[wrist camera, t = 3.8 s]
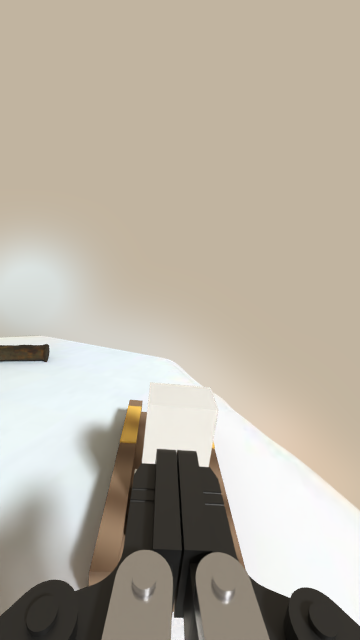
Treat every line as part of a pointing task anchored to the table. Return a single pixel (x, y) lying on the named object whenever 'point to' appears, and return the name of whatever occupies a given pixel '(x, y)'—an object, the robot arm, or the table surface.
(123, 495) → the switch housing
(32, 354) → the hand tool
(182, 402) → the switch tab
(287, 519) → the table surface
